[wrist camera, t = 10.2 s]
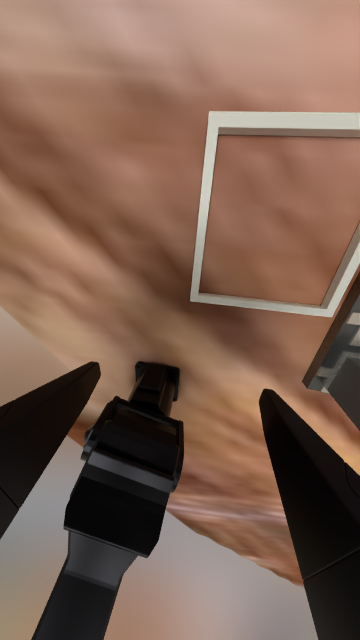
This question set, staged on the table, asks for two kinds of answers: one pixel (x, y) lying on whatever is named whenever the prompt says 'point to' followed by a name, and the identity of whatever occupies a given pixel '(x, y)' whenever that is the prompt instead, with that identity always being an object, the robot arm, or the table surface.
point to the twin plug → (348, 389)
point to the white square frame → (274, 126)
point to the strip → (337, 343)
